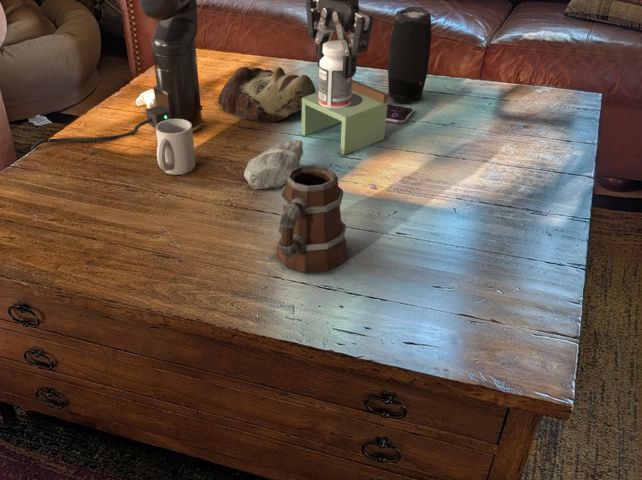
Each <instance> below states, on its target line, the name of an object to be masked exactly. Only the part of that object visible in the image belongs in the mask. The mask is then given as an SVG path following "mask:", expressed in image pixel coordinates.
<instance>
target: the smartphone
mask: <svg viewBox="0 0 642 480" xmlns="http://www.w3.org/2000/svg"><path fill="white" fill-rule="evenodd" d="M413 113H414V109H413V108H411V107H407V106H402V105H395V104H389V103H387V113H386V122H393V123H400V124H401V123H405V122H406V121H407V120H408V119H409V118H410V117H411V116H412V114H413Z"/></svg>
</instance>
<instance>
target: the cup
mask: <svg viewBox="0 0 642 480" xmlns="http://www.w3.org/2000/svg"><path fill="white" fill-rule="evenodd" d="M155 134H156V140H157V147H156V161H157V164H158V167H159V168H160V170H162V171H163V172H164V173H166V174H168V175H174V176H179V175H180V176H181V175H186V174H189V173H190V172H192V171H193V170H194V169H195V168H196V154H195V153H196V152H195V145H194V143H195V142H194V132H193V133H192V125H191V123H190V122H189V121H187V120H184V119H169V120H165V121H162V122H160V123H158V124H157V125H156V128H155Z"/></svg>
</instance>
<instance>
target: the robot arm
mask: <svg viewBox="0 0 642 480" xmlns="http://www.w3.org/2000/svg"><path fill="white" fill-rule="evenodd" d="M359 1H360V0H306V1H305V6H306V7H305V9H306V20H307V21H306V22H307V35H308V37H309V39H313V40H314V42H315V44H316V49H317V50H316V62H317V68H319V64H320V60H321V59H322V57H324V54H323V44H324V43H325V42H328V41H331V38H332V36H333V34H334V33H336V34H337V38H338V39H337V40H338V41H340V42H341V43H342V46H343V51H344V55H343V73H342V76H343V77H344V78H346V79H347V78H350V77H352V78H353V77H354V76H355V75H356V73H357V64H358V63H357V62H358V55H360V54H363V53H366V52H368V49H369V44H370V40H371V39H370V38H371V33H372V28H373V24H374V16H373V15H372V14H367V15H366V14H364V13H362V12H361V8H360V3H359ZM138 2H139V5H140V9H141V10H142V12H143V13H144V14H145V15H146V16H147V17H148V18H149V19H151V20H153V21H157V23H156V27H155V29H154V31H153V32H152V35H151V41H150V42H151V49H152V50H151V51H152V57H153V64H154V65H153V66H154V73H155V80H156V85H154V86H153V89H154V95H155V103H156V107H153V108H149V109H148V108H147V109H145V117H146V119H145V120H143V121H140V122H138V123H137V124H136V125H135V126H134V128H133V129H132V130H130V131H128V132H126V133H122V134H117V135H109V136H99V137H98V136H97V137H59V138H43V139H39V140H37V141H36V142H35V143H34V144H33V145H31V147H30V151H31V150H32V151H33V150H36V149H37V147H38V146H40V145H41V144H46V143H63V142H82V143H83V142H84V143H85V142H90V143H91V142H92V143H93V142H100V141H101V142H103V141H111V140H116V139H121V138H123V137H127V136H132V135H134V134H136V133H137V132H138V130H139V129H140V128H141V127H142V126H145V125H147V124H148V125H149V126H151V127H153V128H154V129H156V125H157V124H158V123H160V122H162V121H165V120H169V119H184V120H187V121H189V122H190V123H191V125H192V133H193V134H194V133H197V132H198V131H200V130H201V129H202V128H203V126H204V120H203V115H202V112H203V106H202V104H201V103H202V102H201V93H200V81H199V71H198V59H197V58H198V57H197V49H196V38H197V34H198V28H199V27H198V7H197V0H138ZM315 23H316V28H315ZM348 32H350V33H348ZM346 33H348V34H346ZM349 44H350V45H351V47H350V45H349ZM49 139H50V140H49ZM48 140H49V141H48Z"/></svg>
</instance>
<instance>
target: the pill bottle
mask: <svg viewBox="0 0 642 480" xmlns="http://www.w3.org/2000/svg"><path fill="white" fill-rule="evenodd" d="M349 45H350V47H352V44H351V43H349ZM323 54H324V57H322V59H321V60H320V64H319V67H318V74H319V75H318V92H319V103H320V105H321V106H323V107H325V108H329V109H341V108H344V107H347V106H348V105H349V104H350V103H351V92H352V79H353V77H350V78H347V79H346V78H344V77H343V76H342V73H343V55H344V51H343V46H342V43H341V42H340V41H339V39H337V40H330V41H328V42H325V43H324V44H323Z"/></svg>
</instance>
